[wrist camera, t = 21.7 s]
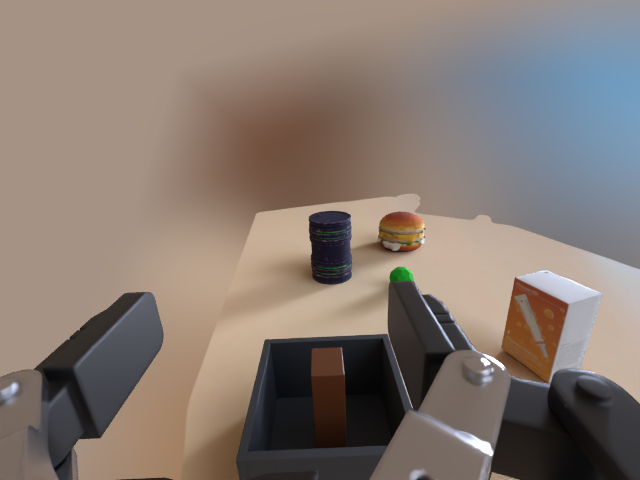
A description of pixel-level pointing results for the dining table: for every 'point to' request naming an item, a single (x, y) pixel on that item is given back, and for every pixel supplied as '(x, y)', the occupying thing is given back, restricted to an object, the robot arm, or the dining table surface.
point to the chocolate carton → (328, 397)
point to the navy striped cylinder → (330, 246)
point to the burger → (401, 231)
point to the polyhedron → (401, 274)
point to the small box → (549, 322)
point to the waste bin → (298, 415)
